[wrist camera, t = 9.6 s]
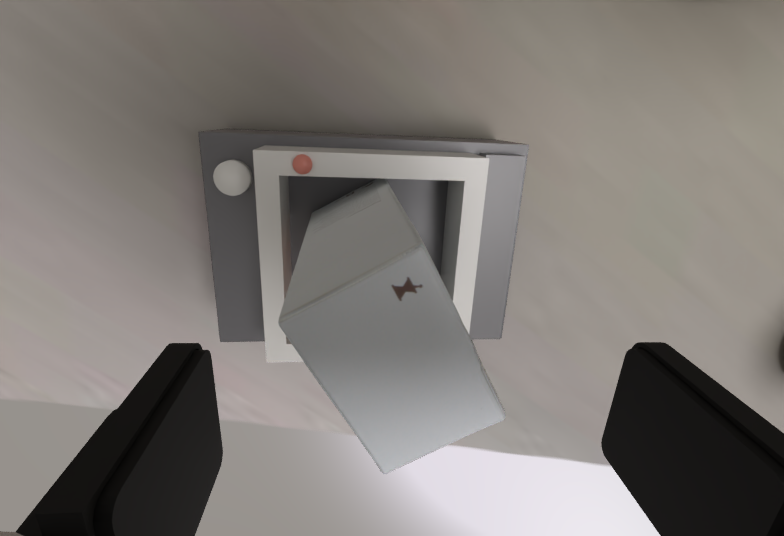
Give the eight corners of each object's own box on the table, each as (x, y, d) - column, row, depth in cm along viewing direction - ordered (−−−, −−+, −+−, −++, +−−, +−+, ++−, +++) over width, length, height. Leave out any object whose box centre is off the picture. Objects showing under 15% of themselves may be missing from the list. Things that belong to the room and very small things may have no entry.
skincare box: (308, 212, 21) (268, 317, 10) (383, 173, 21) (426, 237, 10) (364, 308, 24) (381, 482, 12) (433, 273, 23) (515, 419, 12)
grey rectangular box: (496, 139, 26) (559, 149, 18) (476, 303, 30) (522, 368, 22) (226, 128, 24) (171, 134, 17) (241, 304, 28) (201, 375, 20)
